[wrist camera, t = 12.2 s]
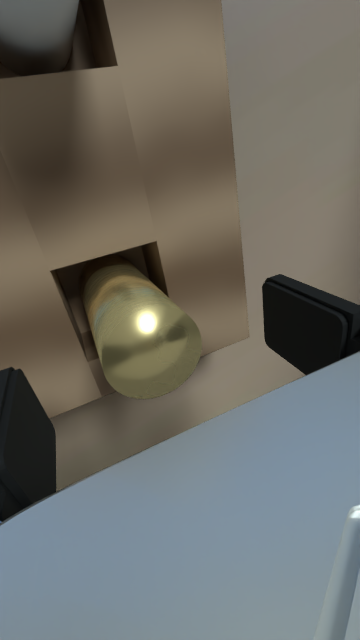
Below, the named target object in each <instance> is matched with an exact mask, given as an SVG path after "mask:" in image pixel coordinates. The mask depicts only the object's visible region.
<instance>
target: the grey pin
mask: <svg viewBox="0 0 360 640" xmlns="http://www.w3.org/2000/svg"><path fill="white" fill-rule="evenodd" d="M78 3H79V0H0V62H1V63H2V64H3V65H5V66H6V67H7V68H8V69H10V70H11V71H13V72H14V73H16V74H18V75H20V76H31V75H40V74H50V73H59V72H61V71H62V70H63V69H64V67H65V66H66V64H67V62H68V60H69V57H70V53H71V48H72V42H73V35H74V29H75V23H76V16H77V10H78Z"/></svg>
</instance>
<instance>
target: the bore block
mask: <svg viewBox="0 0 360 640" xmlns="http://www.w3.org/2000/svg"><path fill="white" fill-rule="evenodd" d="M108 254H114V255H118V256H121V257H123V258H125V259H126V260H128V261H129V262H130V263H131V264H132V265H134V266H135V267H136V268H137V269H138V270H139V271H140V272H141V273H142V274H143V275H144V276H146V277H147V278H148V279H149V280H150V281H151V282H152V283H153V284H154V285H155V286H157V287H158V288H159V289H160V290H161V291H162V292H163V293H164V294H165V295H166V296H167V297H169V298H170V299H171V300H172V301H173V302H174V303H175V304H176V305H177V306H178V307H180V308H181V309H182V310H183V311H184V312H185V313H186V314H187V315H188V316H189V317H190V318H192V320H193V321H194V322H195V323H196V325H197V327H198V329H199V331H200V334H201V339H202V350H201V355H200V357H202V356H204V355H207V354H209V353H212V352H214V351H217V350H219V349H221V348H224V347H226V346H229V345H231V344H234V343H236V342H239V341H241V340H244V339H246V338H249V325H248V313H247V301H246V289H245V277H244V265H243V254H242V242H241V230H240V218H239V206H238V194H237V182H236V170H235V159H234V147H233V135H232V123H231V111H230V99H229V87H228V75H227V63H226V52H225V40H224V28H223V16H222V4H221V0H79V3H78V10H77V16H76V23H75V29H74V35H73V42H72V48H71V53H70V57H69V60H68V62H67V64H66V66H65V67H64V69H63V70H62V71H61V72H59V73H50V74H40V75H31V76H20V75H18V74H16V73H14V72H13V71H11V70H10V69H8V68H7V67H6V66H5V65H3V64H2V63H1V62H0V370H3V369H6V368H9V367H13V368H14V369H15V370H17V369H19V368H20V369H21V370H22V371H23V373H24V374H25V376H26V378H27V380H28V382H29V383H30V385H31V387H32V389H33V391H34V392H35V394H36V396H37V398H38V399H39V401H40V403H41V405H42V407H43V408H44V410H45V412H46V414H47V416H48V417H49V418H52V417H54V416H57V415H59V414H62V413H64V412H67V411H69V410H72V409H74V408H76V407H79V406H81V405H84V404H86V403H89V402H91V401H94V400H96V399H99V398H101V397H103V396H106V395H108V394H111V393H113V392H116V390H115V389H114V388H113V387H112V386H111V385H110V384H109V382H108V381H107V379H106V377H105V375H104V372H103V368H102V365H101V362H100V358H99V355H98V351H97V348H96V345H95V341H94V338H93V335H92V331H91V328H90V324H89V321H88V318H87V314H86V311H85V308H84V304H83V301H82V297H81V294H80V291H79V276H80V273H81V271H82V269H83V268H84V266H85V265H86V264H87V263H88V262H89V261H90V260H92V259H94V258H98V257H101V256H105V255H108Z"/></svg>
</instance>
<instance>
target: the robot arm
mask: <svg viewBox="0 0 360 640" xmlns="http://www.w3.org/2000/svg"><path fill="white" fill-rule="evenodd" d="M262 293H263V314H264V335H265V342H266V344H267V346H268V347H269V348H271V349H272V350H273V351H275V352H276V353H277V354H279V355H280V356H281V357H283V358H284V359H285V360H287V361H288V362H289V363H291V364H292V365H293V366H295V367H296V368H297V369H299V370H300V371H301V372H303V373H304V374H305V375H306V376H304V377H302V378H299V379H297V380H295V381H293V382H291V383H289V384H286V385H284V386H282V387H280V388H278V389H276V390H273V391H271V392H269V393H267V394H265V395H262V396H260V397H258V398H256V399H254V400H252V401H249V402H247V403H245V404H243V405H241V406H239V407H236V408H234V409H232V410H230V411H228V412H225V413H223V414H221V415H219V416H217V417H215V418H212V419H210V420H208V421H206V422H204V423H202V424H199V425H197V426H195V427H193V428H191V429H188V430H186V431H184V432H182V433H180V434H178V435H175V436H173V437H171V438H169V439H167V440H165V441H162V442H160V443H158V444H156V445H154V446H152V447H150V448H147V449H145V450H143V451H141V452H139V453H137V454H135V455H132V456H130V457H128V458H126V459H124V460H122V461H120V462H117V463H115V464H113V465H111V466H109V467H107V468H105V469H102V470H100V471H98V472H96V473H94V474H92V475H89V476H87V477H85V478H83V479H81V480H79V481H77V482H75V483H73V484H71V485H69V486H67V487H65V488H63V489H61V490H59V491H57V492H56V436H55V430H54V427H53V425H52V423H51V421H50V419H49V417H48V416H47V414H46V412H45V410H44V408H43V407H42V405H41V403H40V401H39V399H38V398H37V396H36V394H35V392H34V391H33V389H32V387H31V385H30V383H29V382H28V380H27V378H26V376H25V374H24V373H23V371H22V370H21V369H20V368H19V369H17V370H15V369H14V368H13V367H9V368H6V369H3V370H0V640H360V305H357V304H355V303H352V302H350V301H347V300H344V299H342V298H339V297H337V296H334V295H332V294H329V293H327V292H324V291H322V290H319V289H317V288H314V287H312V286H309V285H307V284H304V283H302V282H299V281H297V280H294V279H292V278H289V277H286V276H284V275H281V274H279V275H276V276H273V277H270V278H267V279H266V280H265V283H264V284H263V286H262Z"/></svg>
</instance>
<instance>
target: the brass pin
mask: <svg viewBox="0 0 360 640" xmlns="http://www.w3.org/2000/svg"><path fill="white" fill-rule="evenodd" d="M79 291H80V294H81V297H82V301H83V304H84V308H85V311H86V314H87V318H88V321H89V324H90V328H91V331H92V335H93V338H94V341H95V345H96V348H97V351H98V355H99V358H100V362H101V365H102V368H103V372H104V375H105V377H106V379H107V381H108V382H109V384H110V385H111V386H112V387H113V388H114V389H115V390H116V391H118V392H119V393H121V394H123V395H125V396H127V397H131V398H135V399H150V398H156V397H160V396H162V395H165V394H167V393H169V392H171V391H173V390H175V389H176V388H178V387H179V386H180V385H182V384H183V383H184V382H185V381H186V380H187V379H188V378H189V376H190V375H191V374H192V372H193V371H194V369H195V368H196V366H197V364H198V361H199V359H200V355H201V350H202V339H201V334H200V331H199V329H198V327H197V325H196V323H195V322H194V321H193V320H192V318H190V317H189V316H188V315H187V314H186V313H185V312H184V311H183V310H182V309H181V308H180V307H178V306H177V305H176V304H175V303H174V302H173V301H172V300H171V299H170V298H169V297H167V296H166V295H165V294H164V293H163V292H162V291H161V290H160V289H159V288H158V287H157V286H155V285H154V284H153V283H152V282H151V281H150V280H149V279H148V278H147V277H146V276H144V275H143V274H142V273H141V272H140V271H139V270H138V269H137V268H136V267H135V266H134V265H132V264H131V263H130V262H129V261H128V260H126V259H125V258H123V257H121V256H118V255H114V254H108V255H105V256H101V257H98V258H94V259H92V260H90V261H89V262H88V263H87V264H86V265H85V266H84V268H83V269H82V271H81V273H80V276H79Z"/></svg>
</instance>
